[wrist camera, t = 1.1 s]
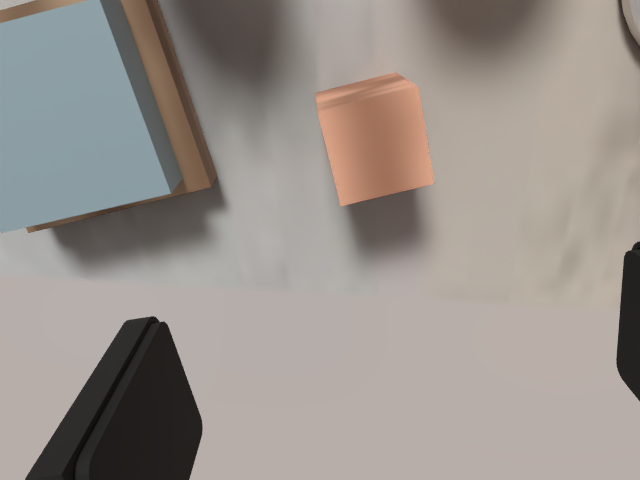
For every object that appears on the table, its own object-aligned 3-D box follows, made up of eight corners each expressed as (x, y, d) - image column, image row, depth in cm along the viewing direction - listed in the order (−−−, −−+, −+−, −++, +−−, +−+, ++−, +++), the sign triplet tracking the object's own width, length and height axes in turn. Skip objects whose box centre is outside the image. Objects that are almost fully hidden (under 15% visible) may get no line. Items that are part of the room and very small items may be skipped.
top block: (120, -1, 27) (98, -3, 24) (183, 177, 31) (171, 193, 28) (-57, 45, 27) (-97, 48, 25) (27, 214, 31) (1, 233, 29)
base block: (151, -24, 29) (135, -29, 26) (218, 173, 34) (211, 187, 31) (-41, 31, 30) (-77, 32, 27) (50, 216, 35) (28, 232, 32)
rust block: (395, 72, 31) (418, 86, 24) (409, 150, 33) (434, 183, 26) (315, 93, 31) (317, 112, 25) (334, 169, 33) (340, 206, 27)
